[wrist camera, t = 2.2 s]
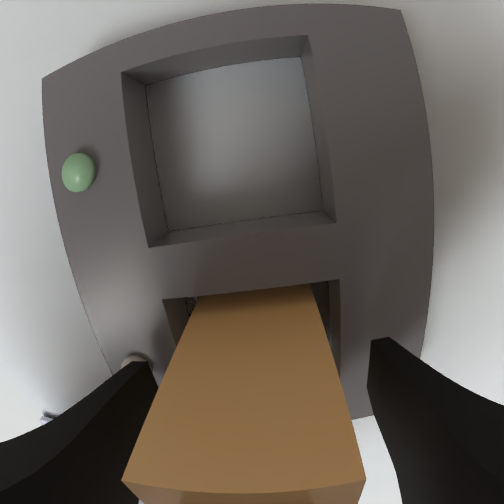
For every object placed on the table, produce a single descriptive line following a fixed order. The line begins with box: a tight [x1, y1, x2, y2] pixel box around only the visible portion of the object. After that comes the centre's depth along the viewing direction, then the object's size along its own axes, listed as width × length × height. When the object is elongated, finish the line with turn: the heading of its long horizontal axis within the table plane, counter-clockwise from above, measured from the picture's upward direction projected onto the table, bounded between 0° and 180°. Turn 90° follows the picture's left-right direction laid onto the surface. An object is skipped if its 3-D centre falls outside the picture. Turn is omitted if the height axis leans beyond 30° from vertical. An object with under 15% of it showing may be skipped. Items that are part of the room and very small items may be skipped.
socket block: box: [42, 4, 434, 420], centre depth 9 cm, size 15×12×2 cm
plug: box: [121, 283, 366, 504], centre depth 7 cm, size 4×4×9 cm
